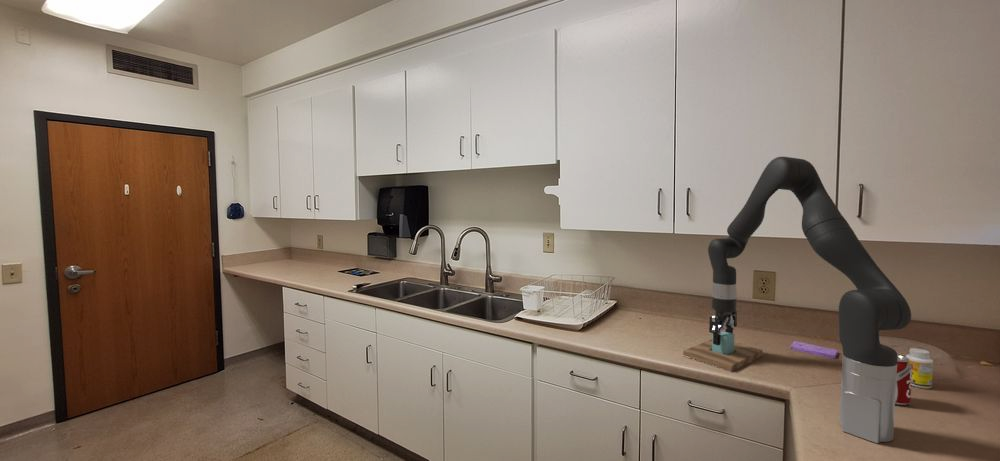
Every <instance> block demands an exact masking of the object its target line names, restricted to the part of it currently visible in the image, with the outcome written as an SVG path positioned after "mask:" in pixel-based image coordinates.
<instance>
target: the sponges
mask: <svg viewBox="0 0 1000 461" xmlns="http://www.w3.org/2000/svg"><path fill="white" fill-rule="evenodd" d="M790 350H793V351H797V352H802V353H807V354H812V355H816V356H821V357H825V358H830V359H836V357H837V355H838V353H839V350H837V349H834V348H828V347H823V346H821V345H820V346H819V345H815V344H810V343H806V342H801V341H798V340H794V341H793V343H792V344H791V345H790Z"/></svg>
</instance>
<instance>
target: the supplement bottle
mask: <svg viewBox="0 0 1000 461" xmlns="http://www.w3.org/2000/svg"><path fill="white" fill-rule="evenodd" d="M930 354H931V353H930V351H928V350H926V349H922V348H917V347H912V348H911V347H910V348H909V352H908V354H906V355H905V357H907V358H908V359H909V363H910V364H911V365H912V383H911V385H912V386H911V387H914V386H915V388H918V389H931V388H932V387H933V379H934V378H933V377H934V376H933V374H934V360H933V359H932V358H930Z"/></svg>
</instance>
